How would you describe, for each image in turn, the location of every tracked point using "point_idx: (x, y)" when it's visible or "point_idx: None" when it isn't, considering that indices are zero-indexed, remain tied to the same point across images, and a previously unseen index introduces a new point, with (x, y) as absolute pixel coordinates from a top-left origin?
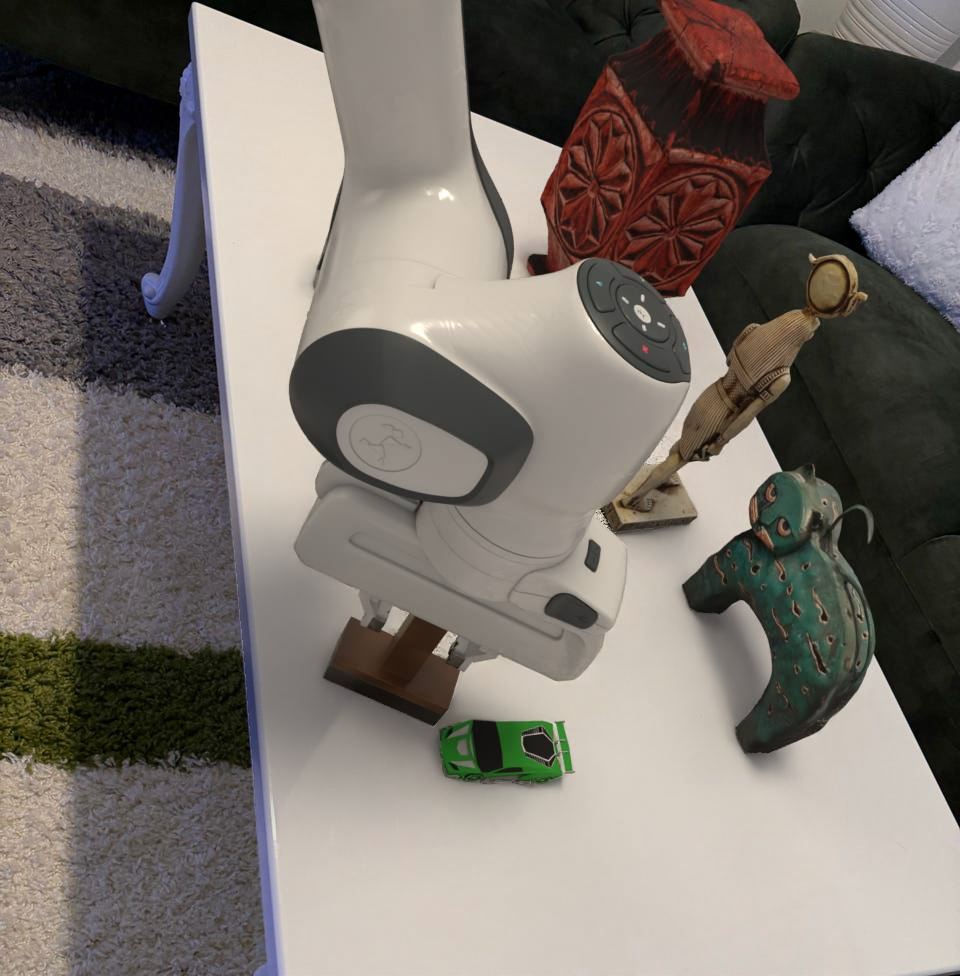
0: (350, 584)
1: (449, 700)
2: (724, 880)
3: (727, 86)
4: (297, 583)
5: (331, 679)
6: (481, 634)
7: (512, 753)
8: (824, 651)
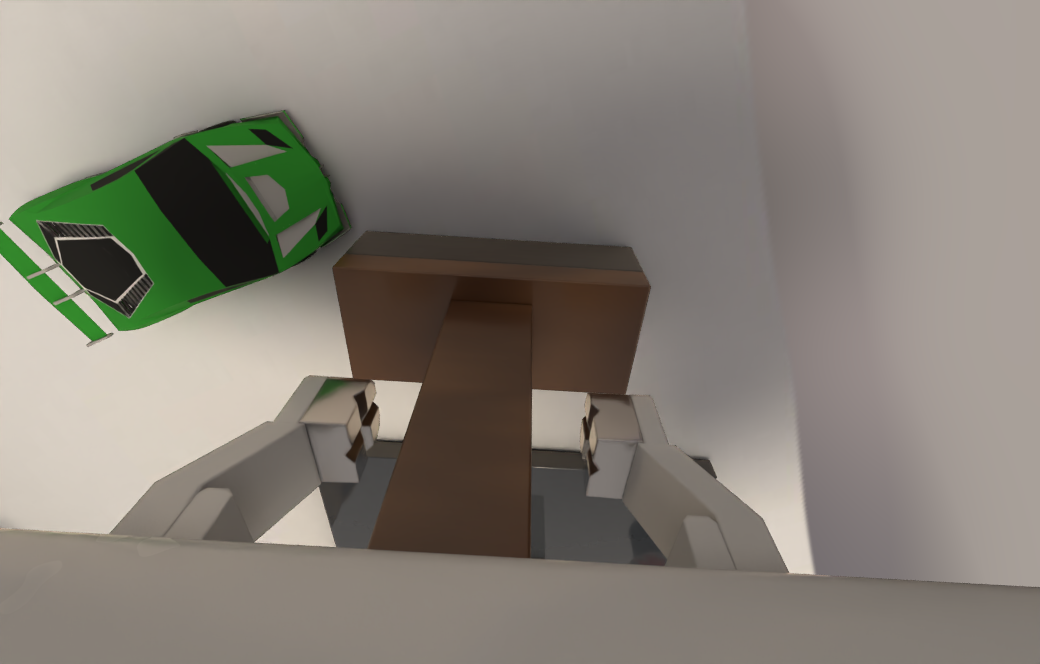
0: (897, 597)
1: (341, 291)
2: None
3: None
4: (706, 406)
5: (615, 249)
6: (141, 655)
7: (136, 219)
8: None
